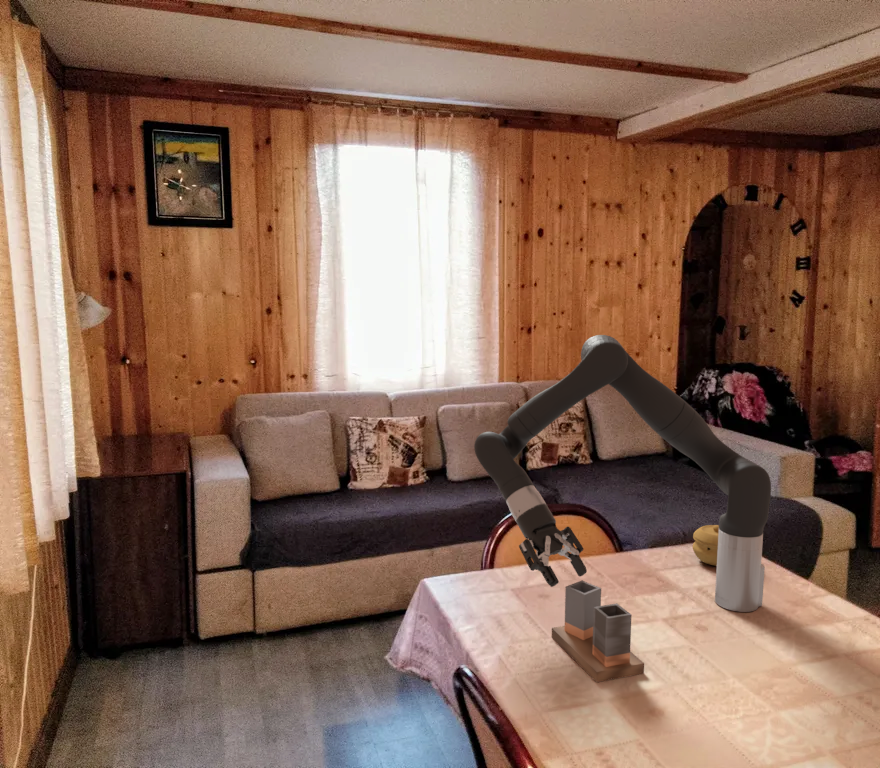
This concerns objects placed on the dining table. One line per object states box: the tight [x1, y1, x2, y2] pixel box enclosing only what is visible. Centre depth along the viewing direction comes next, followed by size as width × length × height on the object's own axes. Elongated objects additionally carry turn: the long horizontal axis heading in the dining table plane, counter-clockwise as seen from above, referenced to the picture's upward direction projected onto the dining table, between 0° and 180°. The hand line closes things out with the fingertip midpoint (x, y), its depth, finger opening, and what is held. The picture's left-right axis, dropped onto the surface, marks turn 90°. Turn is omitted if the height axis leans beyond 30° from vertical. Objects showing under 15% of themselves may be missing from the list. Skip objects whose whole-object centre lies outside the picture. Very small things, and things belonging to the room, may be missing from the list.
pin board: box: [551, 603, 645, 683], centre depth 143 cm, size 10×18×12 cm, turn 18°
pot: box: [692, 524, 719, 567], centre depth 189 cm, size 12×12×10 cm
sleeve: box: [564, 580, 602, 640], centre depth 148 cm, size 5×5×10 cm
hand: (569, 579), depth 149 cm, fingers open, 8 cm apart
